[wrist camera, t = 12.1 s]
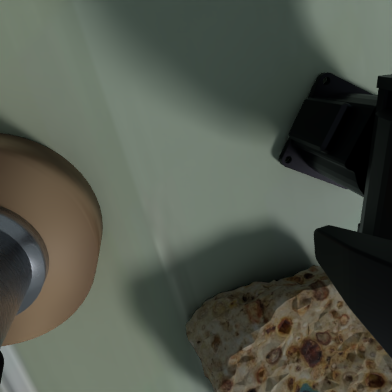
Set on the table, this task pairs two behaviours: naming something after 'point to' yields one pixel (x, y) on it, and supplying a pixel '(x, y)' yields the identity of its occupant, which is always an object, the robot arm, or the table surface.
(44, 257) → the grey metal cylinder
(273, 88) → the table surface
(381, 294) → the robot arm
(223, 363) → the rock
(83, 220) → the stand
